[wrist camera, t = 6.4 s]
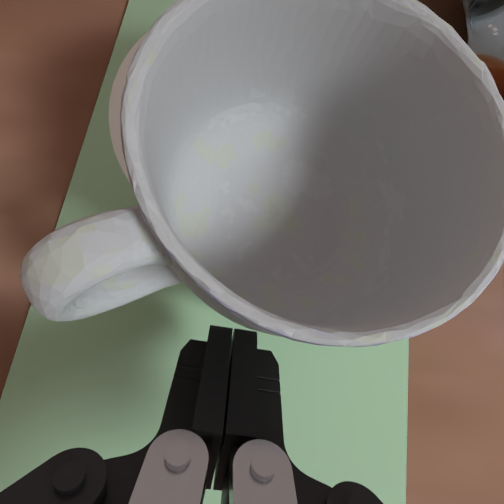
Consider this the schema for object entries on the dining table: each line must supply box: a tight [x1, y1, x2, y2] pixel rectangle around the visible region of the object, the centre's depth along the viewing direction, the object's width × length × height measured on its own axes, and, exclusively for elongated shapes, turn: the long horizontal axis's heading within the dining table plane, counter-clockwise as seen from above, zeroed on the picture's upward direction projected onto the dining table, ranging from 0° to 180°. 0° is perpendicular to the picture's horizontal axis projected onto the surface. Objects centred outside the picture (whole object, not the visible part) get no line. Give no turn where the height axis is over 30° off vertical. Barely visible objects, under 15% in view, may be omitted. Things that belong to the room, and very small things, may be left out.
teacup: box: [20, 0, 504, 347], centre depth 12 cm, size 14×11×8 cm
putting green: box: [0, 0, 409, 504], centre depth 16 cm, size 16×27×2 cm, turn 172°
